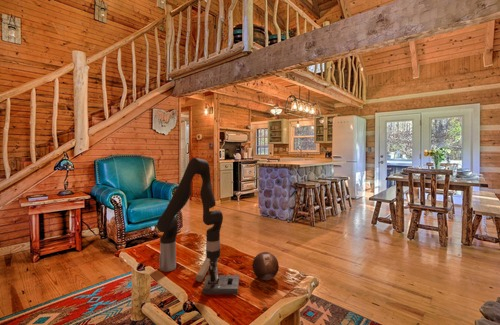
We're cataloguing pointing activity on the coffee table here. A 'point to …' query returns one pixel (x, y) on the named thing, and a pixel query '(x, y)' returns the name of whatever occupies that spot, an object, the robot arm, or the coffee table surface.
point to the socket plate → (222, 285)
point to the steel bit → (215, 277)
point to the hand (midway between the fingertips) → (213, 279)
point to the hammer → (203, 270)
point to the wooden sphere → (265, 266)
